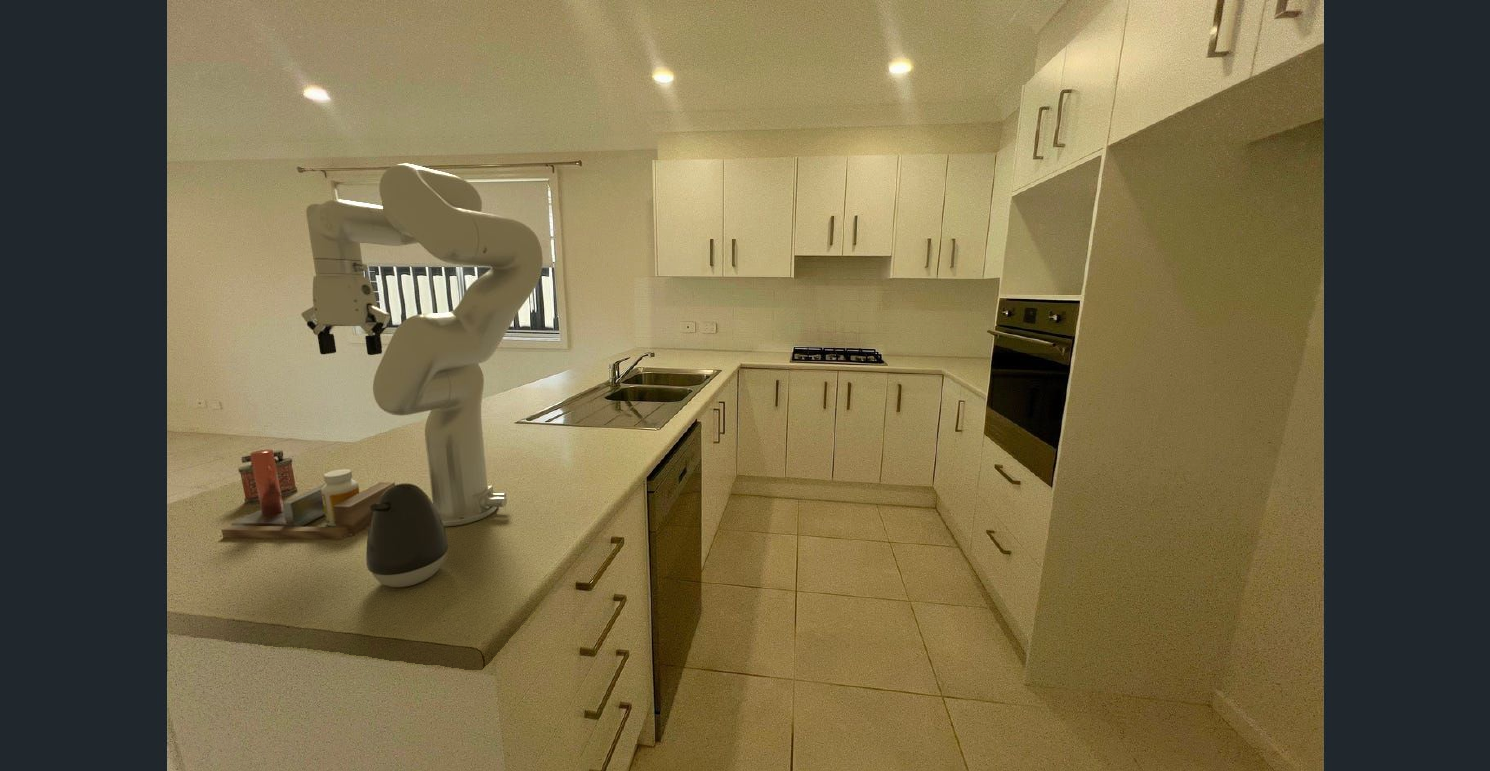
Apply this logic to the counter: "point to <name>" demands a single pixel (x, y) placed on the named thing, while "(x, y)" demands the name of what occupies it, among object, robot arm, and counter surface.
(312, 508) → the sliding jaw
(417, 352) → the robot arm
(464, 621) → the counter surface
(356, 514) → the bench clamp
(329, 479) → the supplement bottle
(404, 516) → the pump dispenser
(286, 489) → the lighter
